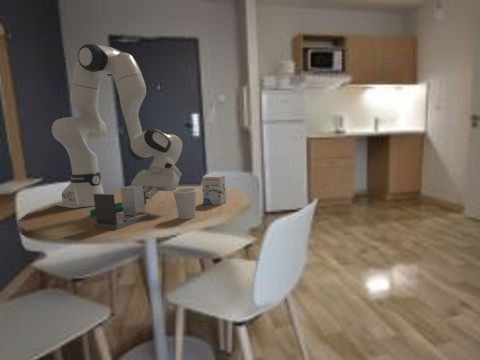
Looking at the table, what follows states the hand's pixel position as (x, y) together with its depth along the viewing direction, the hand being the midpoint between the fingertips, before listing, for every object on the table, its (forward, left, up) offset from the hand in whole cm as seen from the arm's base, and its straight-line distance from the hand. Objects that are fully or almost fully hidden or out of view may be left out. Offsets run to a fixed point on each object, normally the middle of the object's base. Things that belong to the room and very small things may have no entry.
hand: (146, 198), depth 139 cm
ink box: (+17, +22, -6) cm, 28 cm away
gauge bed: (0, -13, -6) cm, 15 cm away
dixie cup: (+19, -1, -6) cm, 20 cm away
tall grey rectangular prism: (+1, -7, -4) cm, 8 cm away
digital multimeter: (-17, -2, -7) cm, 19 cm away
